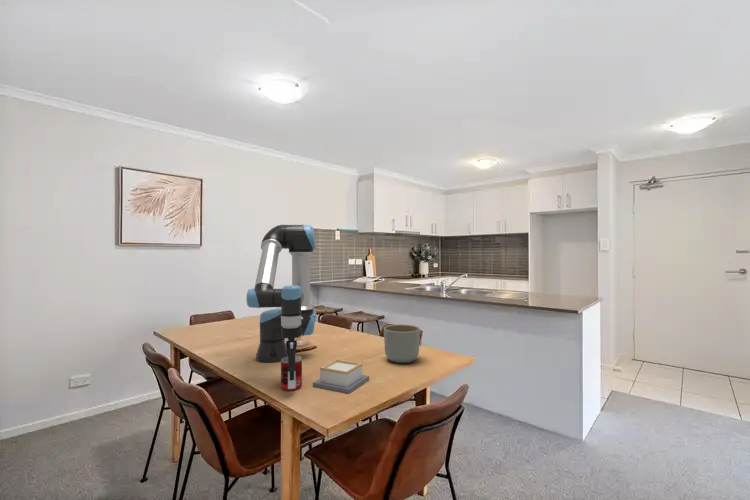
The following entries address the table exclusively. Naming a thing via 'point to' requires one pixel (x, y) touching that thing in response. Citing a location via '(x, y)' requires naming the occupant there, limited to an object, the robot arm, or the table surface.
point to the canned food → (285, 374)
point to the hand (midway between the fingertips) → (291, 382)
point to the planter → (401, 342)
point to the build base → (341, 376)
